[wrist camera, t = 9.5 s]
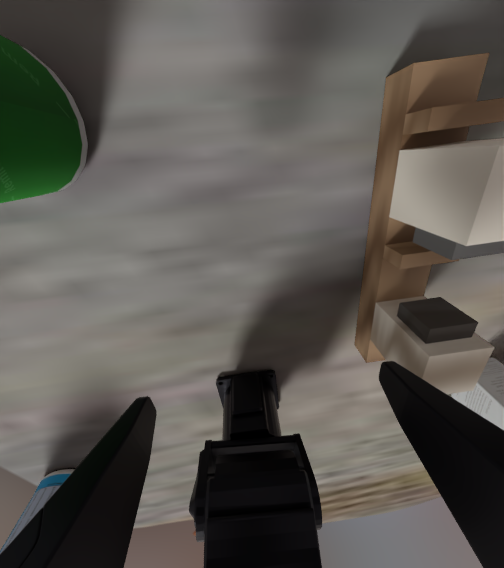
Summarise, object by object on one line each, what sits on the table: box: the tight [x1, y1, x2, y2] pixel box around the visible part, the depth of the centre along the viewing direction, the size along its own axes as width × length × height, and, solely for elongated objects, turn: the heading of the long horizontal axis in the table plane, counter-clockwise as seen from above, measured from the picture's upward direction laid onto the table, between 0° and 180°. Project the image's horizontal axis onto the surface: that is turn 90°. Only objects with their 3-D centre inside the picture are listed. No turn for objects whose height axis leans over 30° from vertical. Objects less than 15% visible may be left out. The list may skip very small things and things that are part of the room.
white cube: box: [389, 138, 504, 260], centre depth 13 cm, size 5×4×6 cm
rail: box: [355, 53, 504, 394], centre depth 16 cm, size 22×4×8 cm, turn 7°
